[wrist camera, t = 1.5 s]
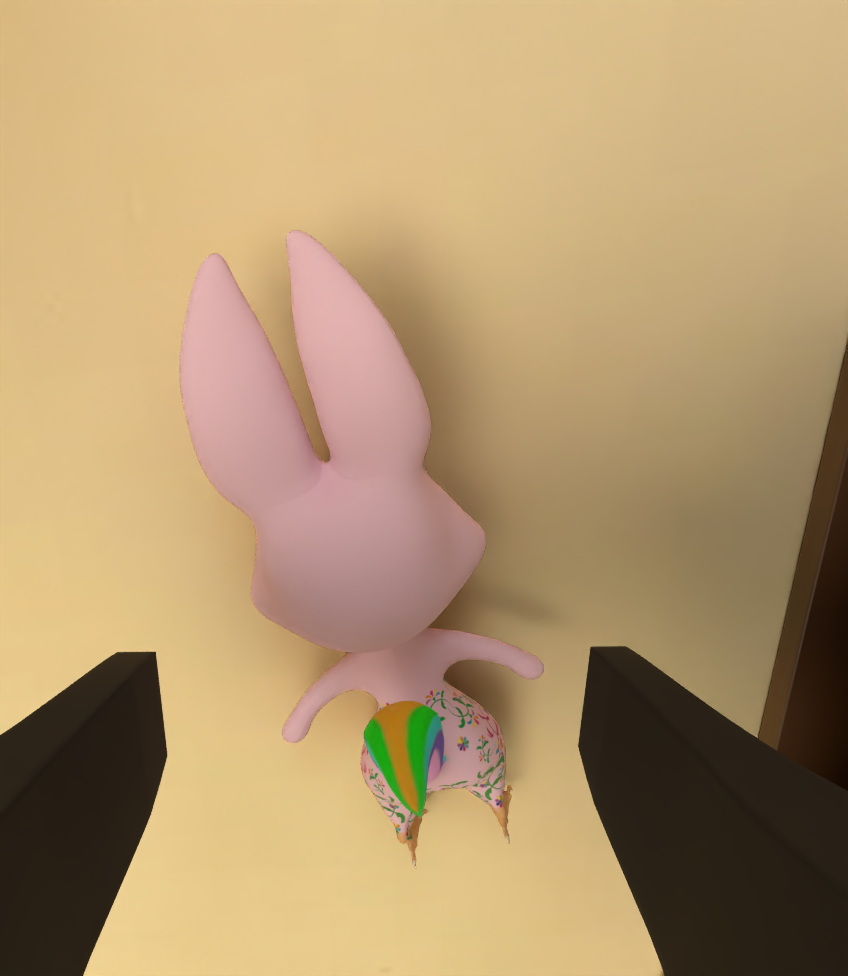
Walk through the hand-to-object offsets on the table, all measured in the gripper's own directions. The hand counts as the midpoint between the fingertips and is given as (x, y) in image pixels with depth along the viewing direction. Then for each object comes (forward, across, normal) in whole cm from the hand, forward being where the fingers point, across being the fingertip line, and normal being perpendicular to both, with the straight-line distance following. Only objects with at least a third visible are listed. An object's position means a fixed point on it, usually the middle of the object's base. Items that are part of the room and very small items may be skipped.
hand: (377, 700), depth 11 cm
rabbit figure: (+6, 0, 0) cm, 6 cm away
